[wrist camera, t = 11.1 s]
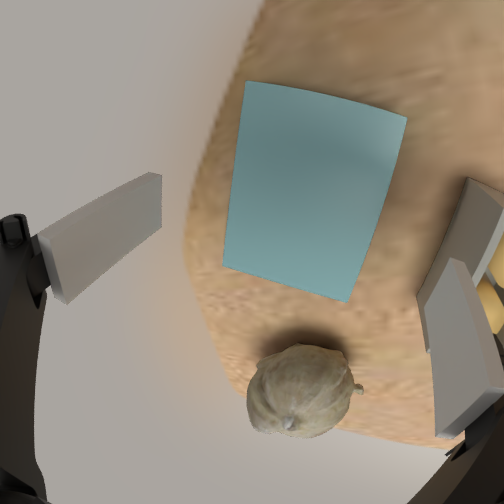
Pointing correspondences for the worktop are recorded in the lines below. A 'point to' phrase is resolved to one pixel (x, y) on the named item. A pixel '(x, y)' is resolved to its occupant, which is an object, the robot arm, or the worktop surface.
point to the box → (474, 252)
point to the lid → (308, 187)
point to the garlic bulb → (300, 391)
